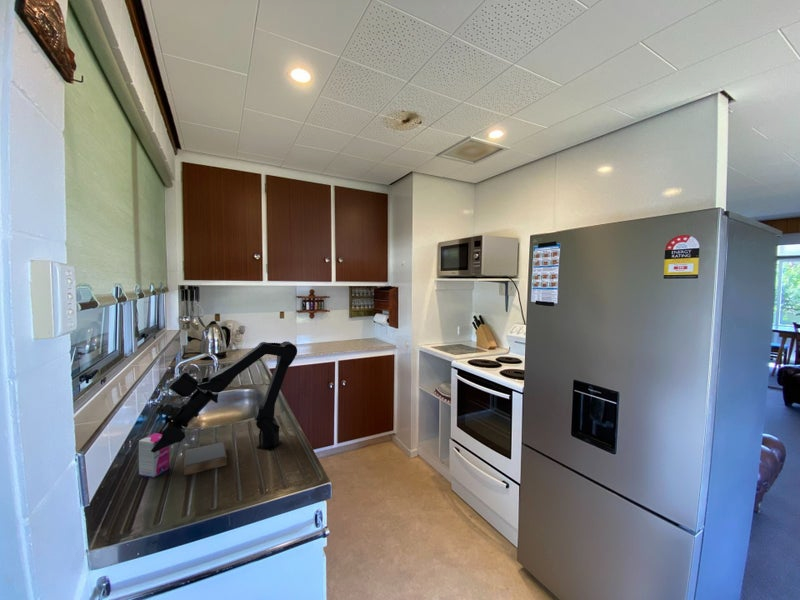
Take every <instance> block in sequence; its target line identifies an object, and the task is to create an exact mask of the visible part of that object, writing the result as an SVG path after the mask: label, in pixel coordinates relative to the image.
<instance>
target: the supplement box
mask: <svg viewBox="0 0 800 600" xmlns="http://www.w3.org/2000/svg"><path fill="white" fill-rule="evenodd" d="M161 436H162V434H158V433H156V432H154V433H152V434H151V435H148V436H146V437H143V438H142V439H140V440H138V476H139V475H140V476H139V477H142V476H144V478H149V479H155V478H156V477H157V476H159V475H161V474H163V473H164V472H165V471H168V470H169V469H170V445H169V446H167V447H165V448H163V449H161V450H159V451H157V452H155V453H153V452H151V450H152V448H153V447H154V446H155V444H156V443H157V442H158V440H159V439H160V438H161Z"/></svg>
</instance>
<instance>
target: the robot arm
mask: <svg viewBox="0 0 800 600" xmlns="http://www.w3.org/2000/svg"><path fill="white" fill-rule="evenodd" d="M297 354H298V348H297V347H296V345H295V344H294V343H292V342H290V341H283V342H267V341H261V342H260V343H258V344H257V346H255V347H253V348H252V349H250V350H249V351H248V352H247V353H245V354H244V355H243V356H241V357H240V358H238V359H237V360H235V362H234V361H233V363H231V364H230V365H228V366H225V367H223V368H220V369H219V370H217V371H214V372H213V373H211V374H210V375H209V376H205V377H201V378H195V377H194V376H192V375H191V374H190V372H189V371H187V370H185V371H184V372H182V373H181V374H179V375H178V376H176V377H175V378H174V379H173V380H172V381H171V382H169V383H170V384H168V386H167V388H168V389H169V390H170V391H172V392H174V393H175V394H177V395H178V396H179V397H181V398H187V399H186V400H182V401H181V402H180V403H177V402H174V401H170V400H167V399H160V400H159V403H158V404H157V407H156V409H155V411H154V413H155V414H156V415H163V416H165V417H164V420H165V422H164V423H163V425H162V426H161V428H160V429H159V431H158V434H162V436H161V438H160V439H159V440H158V442H157V443H156V444H155V446H154V447H153V448H152V450H151V452H153V453H155V452H157V451H159V450H161V449H163V448H165V447H167V446H169V447H170V446H171V445H174V444H178V443H181V442H182V441H183V440H184V439H185V438H186V429H187V428H188V427H189V425H190V422H192V421H193V419H194V418H198V416H200V412H202V410H203V409H204V408H205V407H206V406H207V405H208V404H209V403H210V402H212V401H213V402H214V403H215V404H218V402H219V400H218V397H219V393H222V392H223V391H225V389H226V388H227V387H228V386H229V385H230V384H231V383H232V382H233V381H234V380H235V378H236V377H237V376H238V375H240V374H241V373H242V372H244V371H245V370H246V369H248V368H249V367H250V366H252V365H253V364H254V363H256V362H257V361H258V360H260V359H261V358H263V356H266V355H271V356H276V364H275V368H274V371H273V373H272V376H271V379H270V381H269V385H268V387H267V390H266V393H265V396H264V399H263V401H262V402H261V403H260V404H259V403H256V405H255V410H254V411H253V412H252V415H253V420H254V422H255V425H256V428H257V429H259V433H258V444H257V445H256V448H257V449H262V450H266V451H273V450H274V449H276V448H277V447H278V446H279V445H281V444H282V443H283V442H282V440H280V425H279V423H278V421H277V418H276V417H275V410H276V409H275V407H276V403H277V400H278V397H279V393H280V391H281V389H282V385H283V383H284V380H285V377H286V374H287V371H288V369H289V367H290V366H291V365H292V364H293V362H294V360H295V359H296V356H297ZM188 397H189V398H188Z"/></svg>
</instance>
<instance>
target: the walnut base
mask: <svg viewBox="0 0 800 600" xmlns="http://www.w3.org/2000/svg"><path fill="white" fill-rule="evenodd" d="M183 461H184V462H183V473H184V474H183V476H188V475H192V474H196V473H200V472H204V471H208V470H213V469H216V468H220V467H224V466H227V465H228V456H227V450H226V444H225V442H224V441H222V442H218V443H217V442H216V443H212V444H208V445H203V446H198V447H194V448H193V447H192V448H189V449H186V450H185V451H184V460H183Z"/></svg>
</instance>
